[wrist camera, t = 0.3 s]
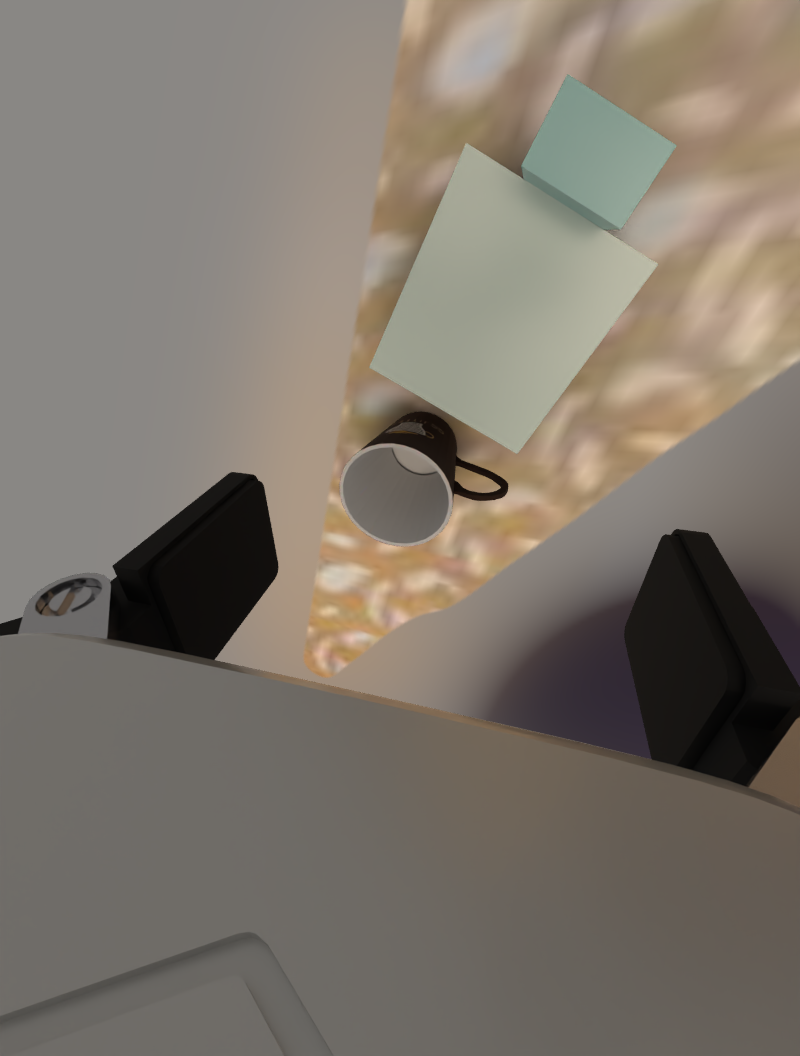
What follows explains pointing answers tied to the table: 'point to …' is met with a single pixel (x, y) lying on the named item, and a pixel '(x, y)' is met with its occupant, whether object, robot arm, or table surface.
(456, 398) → the board with teal handle
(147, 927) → the robot arm
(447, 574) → the table surface
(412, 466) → the coffee mug
